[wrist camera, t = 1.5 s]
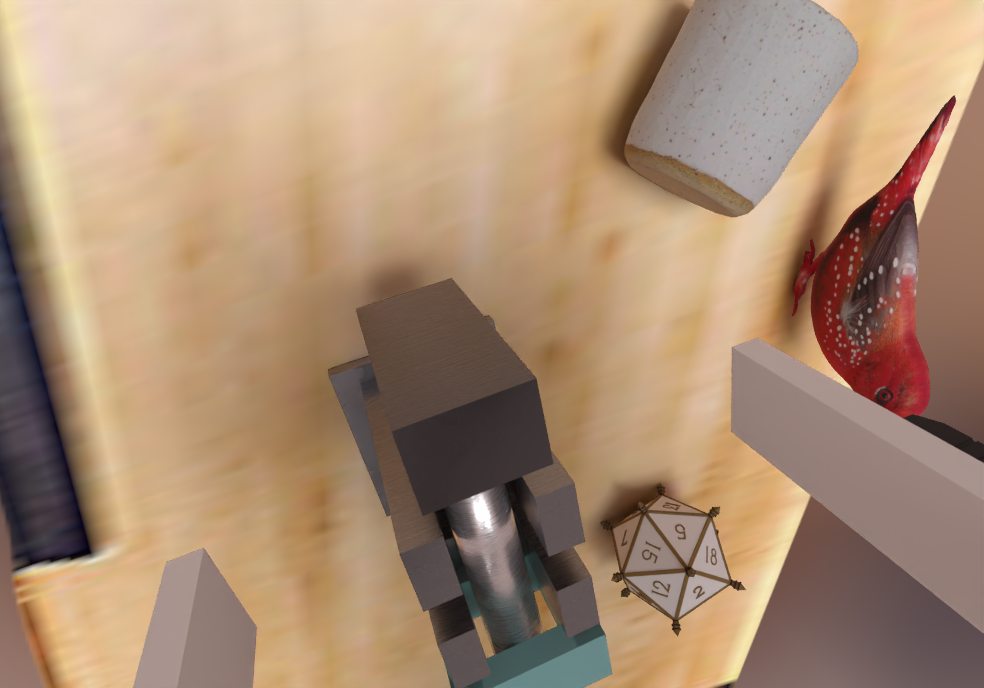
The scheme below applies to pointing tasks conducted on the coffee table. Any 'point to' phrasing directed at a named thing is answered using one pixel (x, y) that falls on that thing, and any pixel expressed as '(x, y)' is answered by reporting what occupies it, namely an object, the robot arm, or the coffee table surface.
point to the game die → (670, 556)
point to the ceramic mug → (738, 99)
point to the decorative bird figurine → (876, 290)
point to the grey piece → (463, 437)
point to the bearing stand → (430, 541)
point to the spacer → (545, 655)
